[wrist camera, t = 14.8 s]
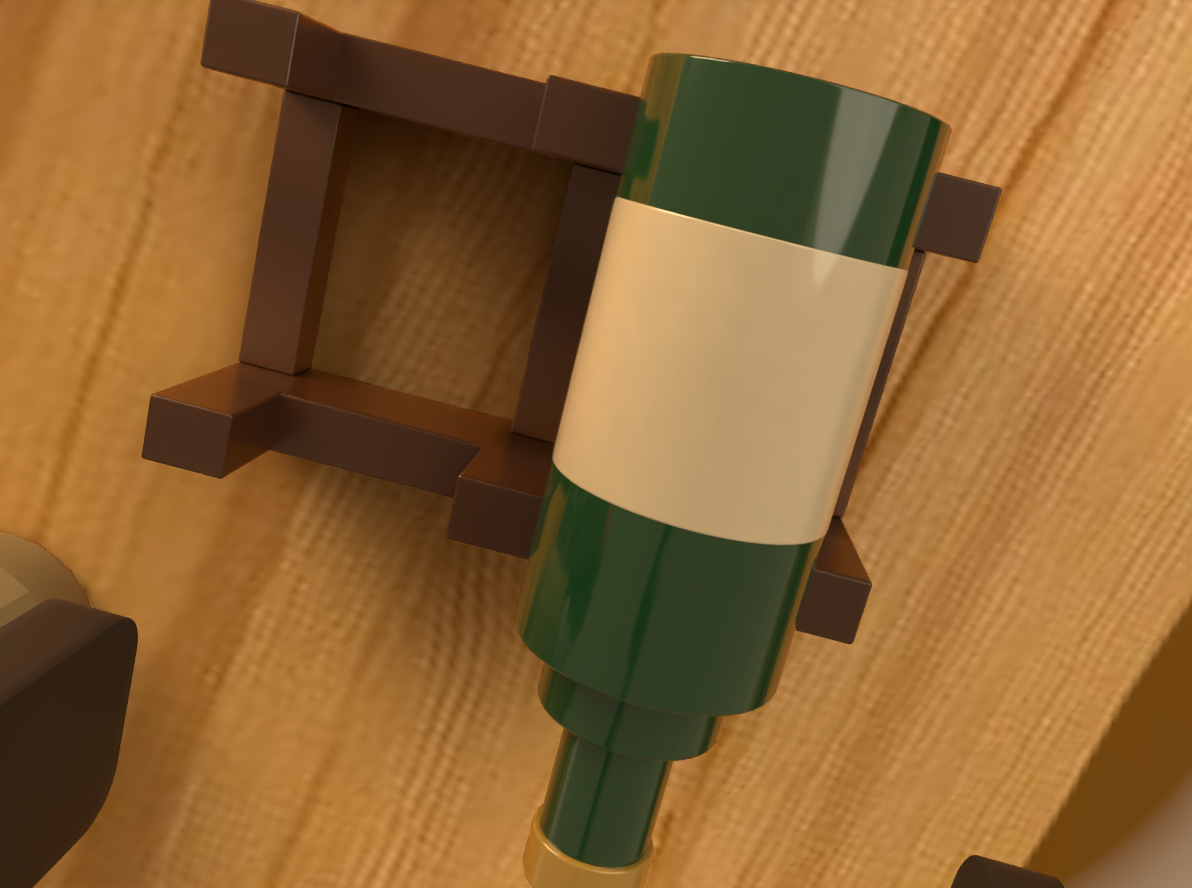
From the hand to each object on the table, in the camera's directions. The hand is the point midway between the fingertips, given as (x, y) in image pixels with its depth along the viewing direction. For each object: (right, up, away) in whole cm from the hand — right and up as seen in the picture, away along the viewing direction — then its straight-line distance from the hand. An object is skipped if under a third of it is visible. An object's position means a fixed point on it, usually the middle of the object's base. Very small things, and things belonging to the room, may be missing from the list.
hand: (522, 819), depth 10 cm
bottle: (+3, +3, +16) cm, 17 cm away
